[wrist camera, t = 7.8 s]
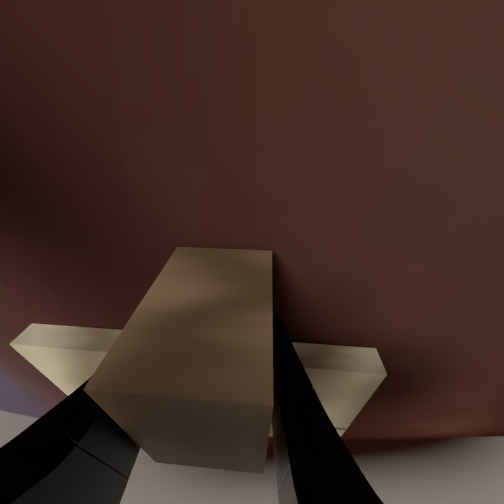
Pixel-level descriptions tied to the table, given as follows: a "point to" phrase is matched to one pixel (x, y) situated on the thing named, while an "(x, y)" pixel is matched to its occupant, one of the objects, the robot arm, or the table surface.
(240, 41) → the table surface
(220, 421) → the wooden mallet
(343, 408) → the board
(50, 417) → the robot arm
